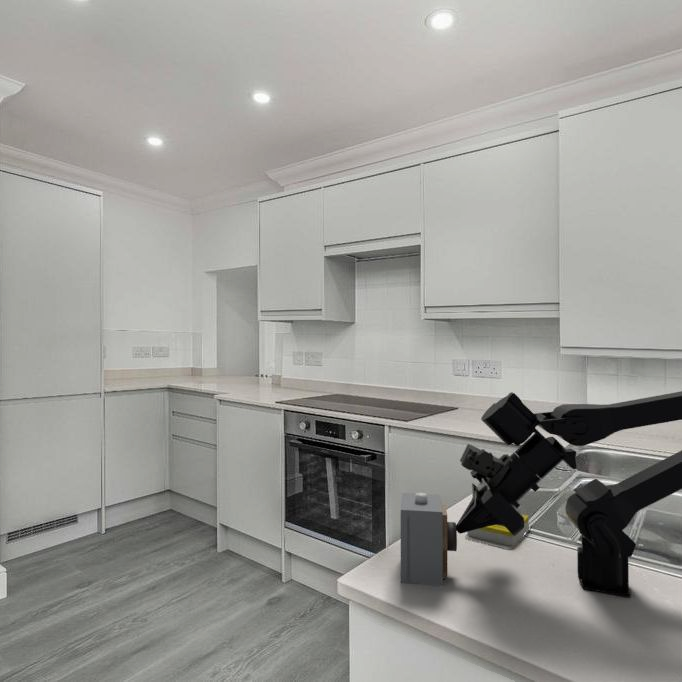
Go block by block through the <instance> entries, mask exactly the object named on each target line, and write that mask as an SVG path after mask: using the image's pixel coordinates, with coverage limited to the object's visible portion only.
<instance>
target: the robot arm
mask: <svg viewBox="0 0 682 682" xmlns="http://www.w3.org/2000/svg"><path fill="white" fill-rule="evenodd" d="M480 420H481V421H482V422H483V423H484V424H485V425H486V426H487V427H488V428H489V429H490V430H491V431H492V432H493V433H494V434H495V435H496V436H497V437H498V438H499V439H500V440H501V441H502V442H503V443H504V444H505V445H507V446H510V445H512V444H514V445H515V446H519V447H517V449H516V450H515V451H514V452H512V453H511V455H509V454H507V453H506V454H503V455H501V456H500V457H499V458H498V457H497V456H494V454H493V453H492V452H488V451H486V450H485V449H484V448H483V449H480V448H478V447H476V446H474V445H473V444H470V443H468V444H467V445H466V447H465V449H464V451H463V453H462V456H461V458H460V459H459V461H460V463H461V464H460V465H461V466H462V468H465V469H467V470H468V471H470V472H469V473H470V475H471V477H472V478H473V479H474V480H475V479H476V480H477V481H478V485H476V484H475V483H474V482H473V483H471V490H472V493H471V494H472V498H471V500H470V501H469V504H468V505H467V506H466V509H465V510H464V512H463V513H462V515H461V517H460V519H459V520H458V522H457V523H456V530H457V534H463V533H464V534H465V533H467V532H468V531H472V530H476V529H479V528H483V527H487V526H492V525H497V524H502V525H504V526H505V527H506V528H507V529H508V530H509V531H510V532H511V533H512V534H513V535H514V536H515V535H517V534H518V533H519V532H520V531H521V530H522V529H523V528H524V517H523V516H522V513H521V510H519V509H518V508H520V506H521V504H520V502H519V501H520V500H521V499H522V498H523V497H525V496H526V495H527V494H528V493H529V492H530V491H531V490H532V491H533V492H537V491H539V489H540V488H541V487H540V486H539V485H538V484H539V483H540V482H541V481H542V480H543V479H544V478H546V477H547V476H548V475H549V474H550V473H551V472H552V471H554V469H555V468H556V467H557V466H559V465H560V464H561V463H562V462H564V464H566V465H567V466H569V468H571V469H572V470H576V469H577V461H576V460H577V459H576V458H577V453H578V452H577V451H575V450H574V449H573V448H565V446H564V445H563V444H561V442H560V441H559V440H557V438H556V437H554V436H557V437H559V438H560V439H562V440H563V441H565V442H566V443H567V444H569V445H572V446H575V447H584V446H588V445H591V444H593V443H596V442H599V441H601V440H605V439H607V438H608V437H610V436H611V435H614V434H615V433H618V432H621V431H624V430H630V429H636V428H641V427H647V426H653V425H658V424H663V423H669V422H675V421H676V422H677V421H681V420H682V390H681V391H676V392H670V393H665V394H660V395H653V396H648V397H643V398H642V397H641V398H636V399H632V400H626V401H619V402H616V403H615V402H614V403H609V404H595V403H593V404H591V403H569V404H567V403H566V404H565V403H564V404H560V405H559V406H555V408H553V411H545V412H538V413H536V412H535V413H534V412H532V410H531V409H529V408H528V407H527V406H526V404H525V403H523V402H522V400H521V398H520V397H519V396H518V395H517V394H516V393H514V392H513V391H512V392H509V393H508V394H507V395H506V396H504V397H502V398H501V399H499V400H498V401H497V402H494V403H492V405H490V407H489V408H487V409H486V410H485V411H484V413H483V415H482V416H481V418H480ZM536 427H539V428H541V429H542V430H543V431H545V432H546V433H548V434H549V435H553V436H548V437H545V436H544V435H543V434H542V433H541V432H540V431H539V430H538V429H537V428H536ZM679 491H682V450H680V451H678V452H676V453H674V454H672V455H670V456H668V457H665V458H663V459H662V460H660V461H659V462H656V463H654V464H652V465H651V466H649V467H647V468H645V469H643V470H641V471H639V472H636V473H635V474H634V475H631V476H629V477H628V478H625V479H623V480H622V481H620V482H617V483H615V484H607V485H605V484H604V483H603V482H602V481H601V480H599V479H598V478H595V479H592V480H591V481H590V482H588V483H586V484H585V485H584V486H582V487H578V488H573V492H575V493H572V494H571V495H570V496H568V497H567V499H566V504H565V514H566V516H567V518H568V519H569V521H570V522H571V524H573V525H574V526H575V528H576V529H577V530H578V532H579V534H581V535H582V536H583V537H581V538H580V539H581V541H580V542H581V546H578V547H577V548H576V549H577V550H576V551H577V554H576V555H577V557H576V558H577V563H576V564H577V578H578V579H579V580H581V587H582V589H584V590H589V591H594V592H600V593H604V594H605V593H606V594H612V595H617V596H621V597H628V598H630V597H632V592H631V589H630V586H629V581H630V580H629V577H630V576H629V575H630V574H629V568H630V566H629V565H630V564H629V558H631V557H632V556H633V554H634V551H635V549H636V546H637V545H636V542H635V541H634V540H633V539H632V538H631V537H630V536H628V534H626V533H625V532H624V530H625V529H626V528H627V527H628V526H629V525H630V523H631V522H632V520H633V518H635V516H636V514H637V513H638V512H640V511H641V510H643V509H645V508H647V507H649V506H651V505H653V504H656V503H657V502H659V501H661V500H663V499H665V498H668V497H669V496H671V495H673V494H676V493H677V492H679Z"/></svg>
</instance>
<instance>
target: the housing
mask: <svg viewBox="0 0 682 682" xmlns="http://www.w3.org/2000/svg"><path fill="white" fill-rule="evenodd" d="M401 493H402V495H401V501H400V583H405V584H418V585H430V586H431V585H432V586H433V585H434V586H443V585H444V584H443V583H444V581H443V580H444V578H443V512H442V505H443V504H442V500H441V494H433V493H432V494H430V493H424V492H416V493H409V492H401Z"/></svg>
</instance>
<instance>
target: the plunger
mask: <svg viewBox="0 0 682 682" xmlns="http://www.w3.org/2000/svg"><path fill="white" fill-rule="evenodd" d="M441 505H442V512H443V579H448V551H449V552H457V549H458V548H457V547H458V546H457V545H458V535H457V534H458V532H457V530H456V525H457V523H456V522H455V521H448V511H447V506H446V504H441Z"/></svg>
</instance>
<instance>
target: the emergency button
mask: <svg viewBox="0 0 682 682" xmlns="http://www.w3.org/2000/svg"><path fill="white" fill-rule="evenodd" d="M521 514H522V513H521ZM522 516H523V517H524V528H523V529H522V530H521V531H520V532H519V533H518V534H517V535H515V536H514V535H513V534H512V533H511V532H510V531H509V530H508V529H507V528H506V527H505V526H504V525H502V524H497V525H492V526H487V527H483V528H479V529H476V530H472V531H468V532H466V533H467V534H465V535H464V537H465V538H466V539H465V538H464V539H465V540H467V539H468V541H471V540H472V541H471V542H475V541H476V543H479V542H481V543H480V544H483V543H484V544H483V545H487V544H488V545H487V546H491V545H492V546H491V547H495V548H499V549H503V550H506V551H507V550H509V551H510V550H514V549H515V547H516V546H517V545H518V544H519V542H520V541H521V540H522V539H523V538H524V537H523V535H524V533H525V532H526V531H527V530H528V529H529V524H530V523H529V520H530V519H529V516H528V515H526V514H522Z"/></svg>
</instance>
